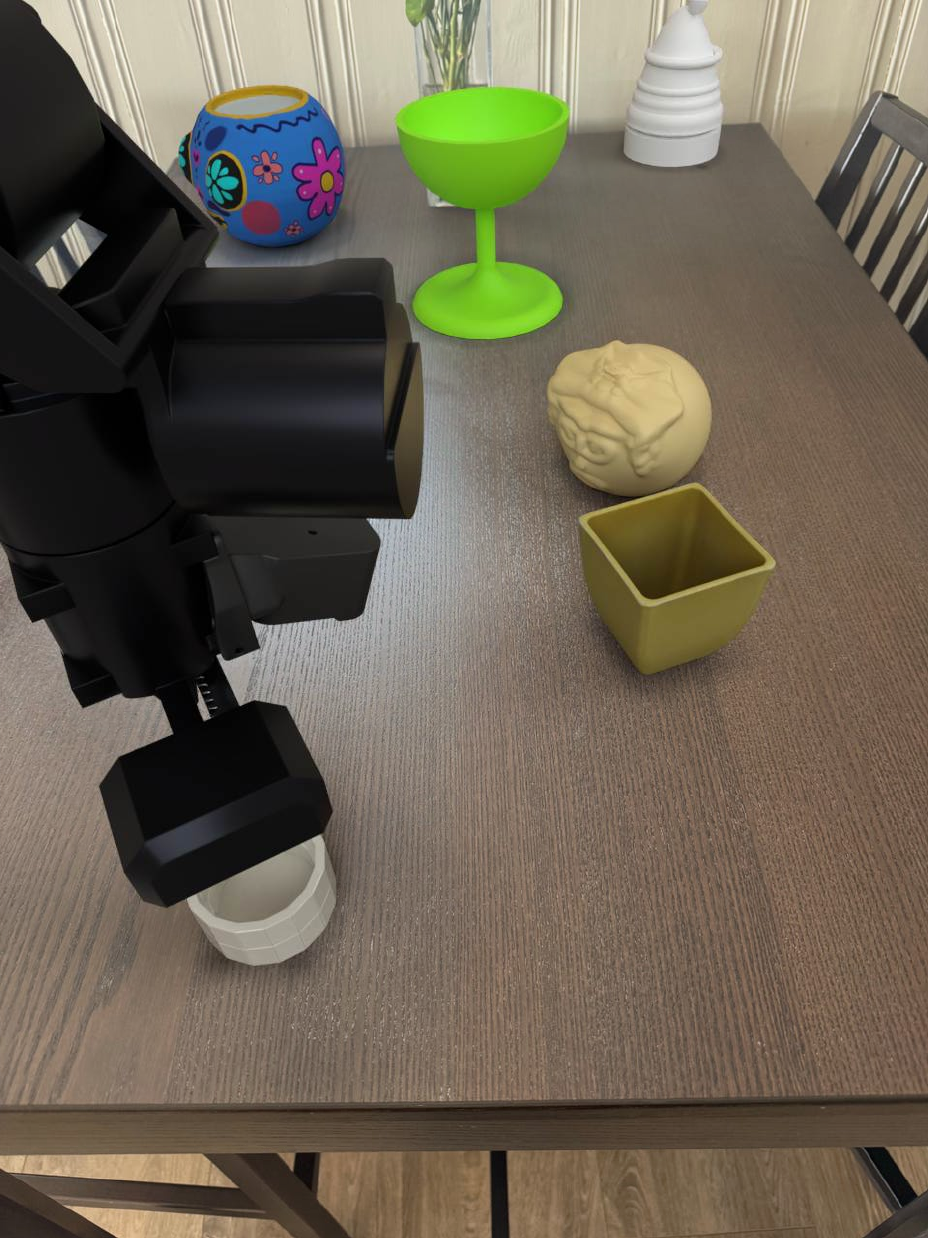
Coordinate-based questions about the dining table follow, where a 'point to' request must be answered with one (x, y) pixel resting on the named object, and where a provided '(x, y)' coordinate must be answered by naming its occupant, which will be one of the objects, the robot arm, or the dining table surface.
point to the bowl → (270, 906)
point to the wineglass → (484, 200)
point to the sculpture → (629, 416)
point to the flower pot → (672, 575)
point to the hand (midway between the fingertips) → (216, 779)
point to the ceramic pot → (266, 164)
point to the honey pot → (677, 95)
